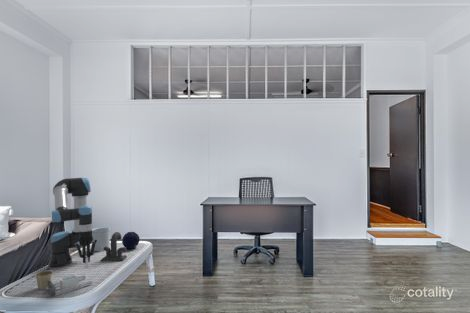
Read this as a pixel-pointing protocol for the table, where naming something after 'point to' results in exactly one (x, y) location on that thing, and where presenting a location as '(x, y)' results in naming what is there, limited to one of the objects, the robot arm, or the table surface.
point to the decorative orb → (130, 240)
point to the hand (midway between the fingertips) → (86, 267)
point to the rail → (53, 291)
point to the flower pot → (43, 279)
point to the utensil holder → (101, 238)
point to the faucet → (114, 250)
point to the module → (69, 281)
